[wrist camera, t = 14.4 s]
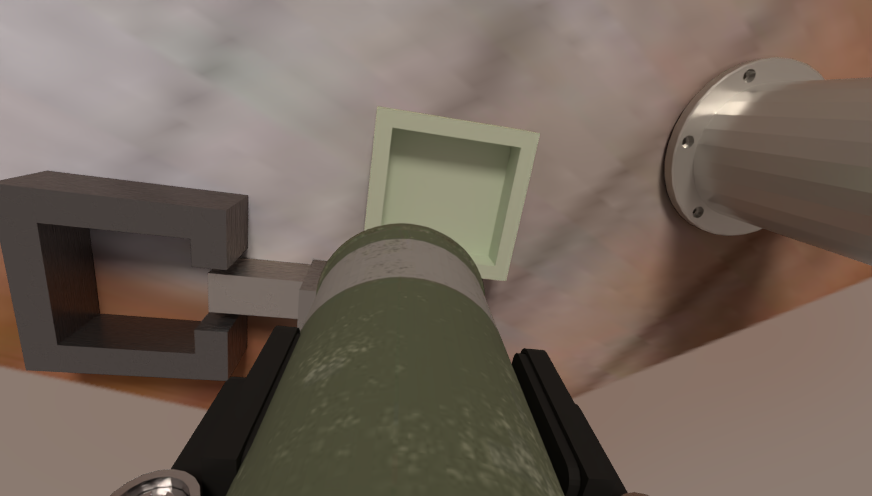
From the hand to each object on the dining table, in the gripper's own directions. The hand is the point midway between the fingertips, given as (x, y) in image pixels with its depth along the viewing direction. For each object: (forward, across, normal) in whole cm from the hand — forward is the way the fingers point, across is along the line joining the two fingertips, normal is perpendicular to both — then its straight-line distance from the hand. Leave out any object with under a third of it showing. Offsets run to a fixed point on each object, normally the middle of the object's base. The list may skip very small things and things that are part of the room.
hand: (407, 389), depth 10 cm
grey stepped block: (+19, +8, +7) cm, 22 cm away
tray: (+20, -2, -1) cm, 20 cm away
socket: (+19, +17, +7) cm, 26 cm away
